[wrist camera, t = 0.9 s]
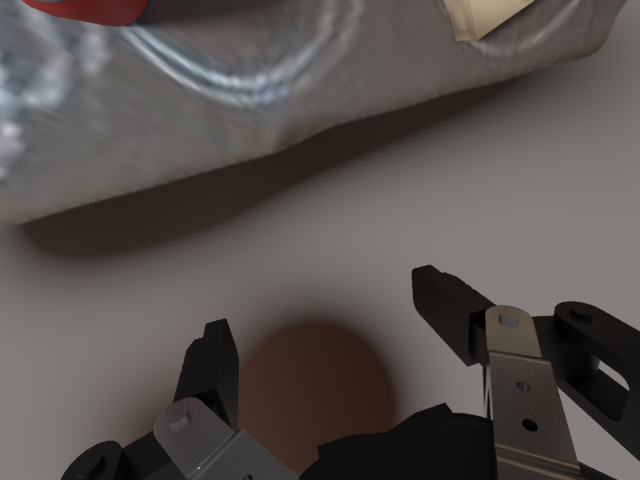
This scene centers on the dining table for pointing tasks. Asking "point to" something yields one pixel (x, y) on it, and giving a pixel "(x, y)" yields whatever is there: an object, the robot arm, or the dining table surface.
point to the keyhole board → (481, 16)
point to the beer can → (93, 10)
